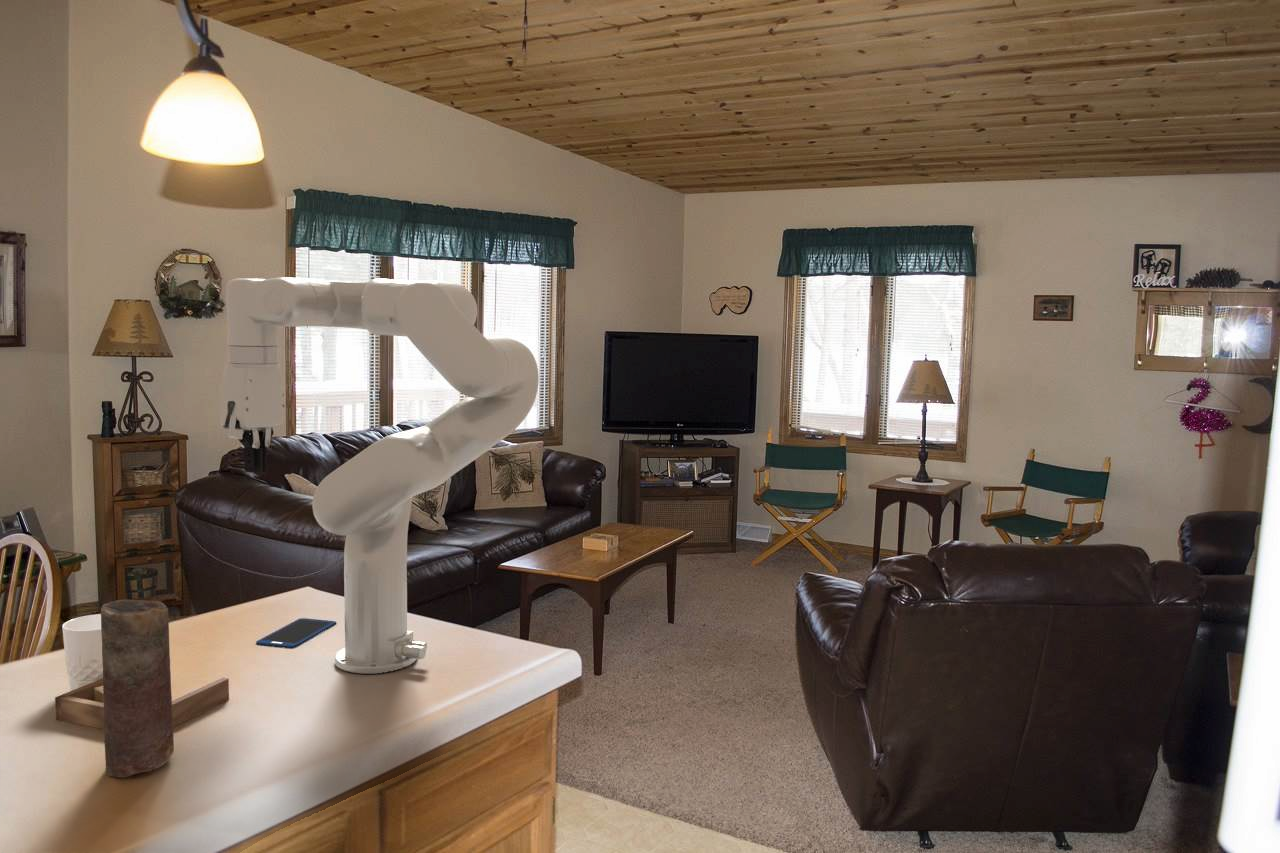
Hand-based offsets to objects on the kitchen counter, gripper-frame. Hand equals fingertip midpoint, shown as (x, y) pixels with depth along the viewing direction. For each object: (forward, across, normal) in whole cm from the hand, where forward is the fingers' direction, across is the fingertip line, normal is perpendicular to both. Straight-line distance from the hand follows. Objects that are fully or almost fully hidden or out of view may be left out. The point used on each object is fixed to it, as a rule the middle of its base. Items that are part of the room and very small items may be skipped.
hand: (256, 471), depth 155 cm
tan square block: (+29, +26, 0) cm, 39 cm away
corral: (+29, +26, +3) cm, 39 cm away
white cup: (+29, +23, -9) cm, 38 cm away
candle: (+29, +39, +16) cm, 51 cm away
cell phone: (+30, -8, +1) cm, 31 cm away
